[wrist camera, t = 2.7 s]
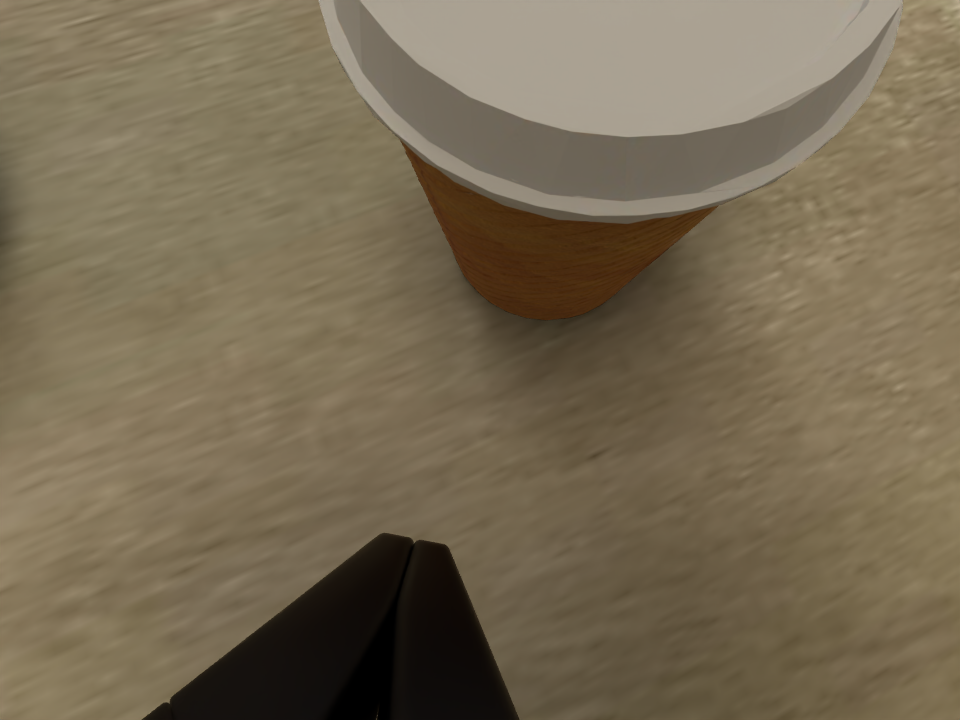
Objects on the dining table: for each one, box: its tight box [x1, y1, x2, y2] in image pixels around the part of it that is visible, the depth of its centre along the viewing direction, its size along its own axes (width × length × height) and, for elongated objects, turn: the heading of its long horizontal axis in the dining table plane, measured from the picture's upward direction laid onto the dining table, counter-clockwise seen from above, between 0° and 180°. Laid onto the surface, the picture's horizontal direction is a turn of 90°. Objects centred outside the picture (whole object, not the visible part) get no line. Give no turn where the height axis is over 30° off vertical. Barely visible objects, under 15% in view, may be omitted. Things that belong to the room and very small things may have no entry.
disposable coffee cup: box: [319, 0, 903, 320], centre depth 15 cm, size 10×10×12 cm
